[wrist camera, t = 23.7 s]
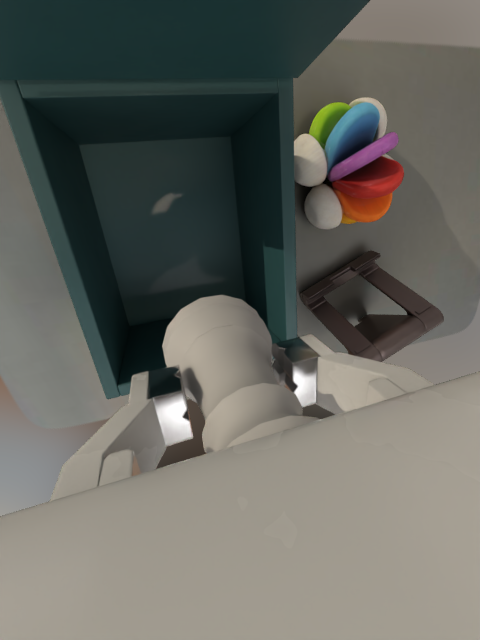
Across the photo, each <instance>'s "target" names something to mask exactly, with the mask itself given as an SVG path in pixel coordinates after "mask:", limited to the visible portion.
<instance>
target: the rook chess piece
mask: <svg viewBox="0 0 480 640" xmlns="http://www.w3.org/2000/svg"><path fill="white" fill-rule="evenodd" d="M162 347H163V352H164V357H165V362H166V365H167V367H171V366H175V365H179V367H180V371H181V375H182V381H183V386H184V389H185V394H186V396H188V397H190V398H191V400H193V401H195V402H196V403H197V404H198V406H199V408H200V410H201V412H202V414H203V417H204V419H205V421H206V423H205V427H204V429H203V433H202V439H203V445H204V451H205V452H206V453H207V454H208V453H211V452H214V451H218V450H221V449H224V448H228V447H231V446H234V445H238V444H241V443H244V442H248V441H251V440H254V439H258V438H261V437H264V436H267V435H271V434H274V433H277V432H281V431H284V430H287V429H291V428H294V427H297V426H301V425H304V424H307V423H310V422H314V421H317V420H320V419H318V418H315V417H308V416H302V414H303V410H302V409H303V408H302V406H301V404H300V402H299V400H298V398H297V396H296V394H294V393H293V392H291V391H290V390H288V389H287V388H285V387H284V386H282V385H279V383H278V382H277V380H276V378H275V375H274V373H273V371H272V369H271V368H272V362H271V361H272V351H271V348H272V339H271V335H270V333H269V331H268V329H267V327H266V325H265V323H264V321H263V320H262V319H261V318H260V317H259V315H258V313H257V311H256V310H255V309H253V308H252V307H251V306H249V305H248V304H247V303H246V302H244V301H243V300H241V299H237V298H233V297H229V296H225V295H217V296H210V297H204V298H199V299H198V300H196V301H194V302H192V303H191V304H189V305H187V306H186V307H184V308H182V309H181V310H180V311H179V312H178V313H177V315H176V316H175V317H174V319H173V320H172V321H171V322H170V324H169V325H168V326H167V330H166V333H165V337H164V341H163V345H162Z"/></svg>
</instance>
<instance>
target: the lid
mask: <svg viewBox="0 0 480 640" xmlns="http://www.w3.org/2000/svg"><path fill="white" fill-rule="evenodd" d="M369 1H370V0H0V80H84V79H209V78H298V77H299V76H300V75H301V74H302V73H303V72H304V71H305V69H306V68H307V67H308V66H309V65H310V64H311V63H312V62H313V61H314V60H315V59H316V58H317V57H318V56H319V54H320V53H321V52H322V51H323V50H324V49H325V48H326V47H327V46H328V45H329V44H330V43H331V42H332V41H333V40H334V38H335V37H336V36H337V35H338V34H339V33H340V32H341V31H342V30H343V29H344V28H345V27H346V26H347V25H348V24H349V22H350V21H351V20H352V19H353V18H354V17H355V16H356V15H357V14H358V13H359V12H360V10H362V8H364V6H365V5H366V4H367V3H368V2H369Z"/></svg>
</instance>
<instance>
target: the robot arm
mask: <svg viewBox="0 0 480 640" xmlns="http://www.w3.org/2000/svg"><path fill="white" fill-rule="evenodd" d="M271 351H272V356H273V357H274V358H275V361H274V363H273V365H272V367H273V373H274V375H275V378H276V380H277V382H278V383H279V385H282V386H284V387H285V388H287V389H288V390H290V391H291V392H293V393H294V394H296V396H297V398H298V400H299V402H300V404H301V406H302V407H304V406H308V405H312V404H316V403H317V405H319V406H321V407H323V408H324V409H326V410H328V411H330V412H332V413H334V414H336V415H334V416H331V417H327V418H324V419H321V420H317V421H314V422H310V423H307V424H304V425H301V426H297V427H294V428H291V429H287V430H284V431H281V432H277V433H274V434H271V435H267V436H264V437H261V438H258V439H254V440H251V441H248V442H244V443H241V444H238V445H234V446H231V447H228V448H224V449H221V450H218V451H214V452H211V453H208V454H205V455H201V456H198V457H195V458H191V459H188V460H185V461H181V462H179V463H175V464H171V465H168V466H165V467H162V468H158V469H156V467H157V465H158V463H159V461H160V459H161V457H162V455H163V453H164V452H165V450H166V447H167V446H170V445H173V444H176V443H179V442H182V441H186V440H189V439H192V438H193V434H192V427H191V422H190V417H189V410H188V405H187V399H186V394H185V389H184V386H183V381H182V375H181V371H180V367H179V365H175V366H171V367H166V368H161V369H156V370H151V371H146V372H142V373H138V374H134V375H133V376H132V379H131V387H130V395H129V402H128V405H124V406H123V407H122V408H121V409H120V410H119V411H118V412H116V413H115V414H114V415H113V416H112V417H111V418H110V419H109V420H108V421H107V422H106V423H105V424H104V425H103V426H102V427H101V428H100V429H99V430H98V431H97V432H96V433H95V434H94V435H93V436H92V437H91V438H90V439H89V440H88V441H87V442H86V443H85V444H84V445H83V446H82V447H81V448H80V449H79V450H78V451H77V452H76V453H75V454H74V455H73V456H72V457H71V458H70V459H69V460H68V461H67V462H66V463H65V464H64V465H63V466H62V468H61V471H60V474H59V477H58V480H57V483H56V485H55V488H54V491H53V493H52V496H51V499H50V501H49V502H46V503H42V504H39V505H36V506H33V507H29V508H26V509H22V510H19V511H16V512H13V513H9V514H6V515H3V516H0V640H480V371H479V372H476V373H473V374H469V375H466V376H463V377H459V378H456V379H453V380H449V381H446V382H443V383H439V384H436V385H434V384H433V383H431V382H430V381H428V380H426V379H425V378H423V377H422V376H420V375H419V374H417V373H416V372H414V371H412V370H411V369H408V368H404V367H400V366H396V365H392V364H387V363H383V362H379V361H375V360H371V359H366V358H362V357H358V356H354V355H350V354H345V353H341V352H337V353H335V352H333V351H332V350H331V349H330V348H328V347H327V346H326V345H325V344H323V343H322V342H321V341H320V340H318V339H317V338H316V337H315V336H313V335H311V334H308V335H305V336H301V337H297V338H293V339H289V340H285V341H281V342H277V343H274V344H272V348H271Z"/></svg>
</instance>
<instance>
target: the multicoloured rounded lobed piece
mask: <svg viewBox="0 0 480 640" xmlns="http://www.w3.org/2000/svg"><path fill="white" fill-rule="evenodd" d="M386 126H387V115H386V111H385V109H384V107H383V106H382V105H381V103H380V102H378V101H377V100H375V99H373V98H368V97H366V98H359V99H356V100H354V101H353V102H351V103H350V104H349V105H347V104H345V103H341V102H336V103H331V104H329V105H327V106H325V107H324V108H322V109H321V110H320V111H319V112H318V113H317V115H316V116H315V118H314V120H313V122H312V124H311V127H310V131H309V134H302V135H300V136H299V137H298V138H297V139H296V140H295V141H294V177H295V181H296V182H297V183H299V184H301V185H304V186H309V187H310V186H314V187H313V188H312V189H311V191H310V192H309V194H308V195H307V198H306V200H305V214H306V217H307V219H308V220H309V222H310V223H311V224H312V225H314V226H315V227H317V228H320V229H332V228H335V227H337V226H338V225H339V224H340V222H341V223H344V224H351V223H355V222H357V221H358V222H373V221H376V220H378V219H380V218H381V217H382V216H383V215H384V214H385V213H386V212H387V210H388V209H389V207H390V205H391V201H392V192H393V191H394V190H395V189H397V187H398V186H399V185H400V184H401V182H402V180H403V177H404V170H403V167H402V166H401V165H400V163H398V162H397V161H395V160H393V159H392V158H391V157H390V156H389V155H387V154H385V153H387V152H388V151H390V150H391V149H393V148H394V147H395V146H396V145H397V143H398V135H397V134H396V133H395V132H390V133H388V134H386V135H385V136H384V133H385V130H386ZM326 176H327V177H328V179H329V181H330V182H329V183H327V184H323V183H322V182H323V181H324V180H325V178H326Z"/></svg>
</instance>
